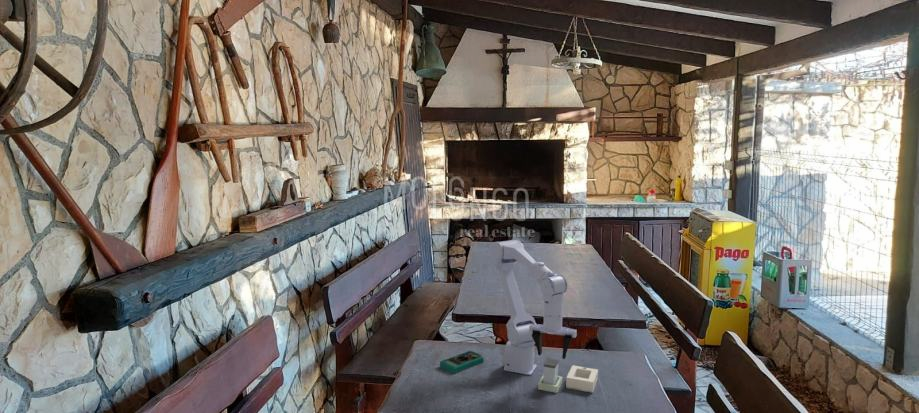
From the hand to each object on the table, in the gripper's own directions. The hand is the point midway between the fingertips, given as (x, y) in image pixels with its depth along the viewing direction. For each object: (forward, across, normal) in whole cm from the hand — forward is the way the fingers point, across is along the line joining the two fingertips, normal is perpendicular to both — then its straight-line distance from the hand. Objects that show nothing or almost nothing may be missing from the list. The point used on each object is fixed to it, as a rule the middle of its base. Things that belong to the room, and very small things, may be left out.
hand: (551, 356), depth 177 cm
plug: (+10, 0, 0) cm, 10 cm away
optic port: (+10, +9, +5) cm, 14 cm away
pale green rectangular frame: (+10, 0, 0) cm, 10 cm away
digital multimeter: (+10, -32, +4) cm, 34 cm away
